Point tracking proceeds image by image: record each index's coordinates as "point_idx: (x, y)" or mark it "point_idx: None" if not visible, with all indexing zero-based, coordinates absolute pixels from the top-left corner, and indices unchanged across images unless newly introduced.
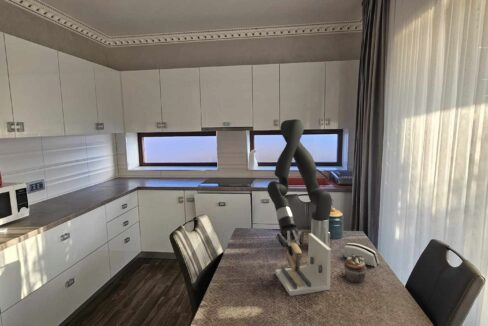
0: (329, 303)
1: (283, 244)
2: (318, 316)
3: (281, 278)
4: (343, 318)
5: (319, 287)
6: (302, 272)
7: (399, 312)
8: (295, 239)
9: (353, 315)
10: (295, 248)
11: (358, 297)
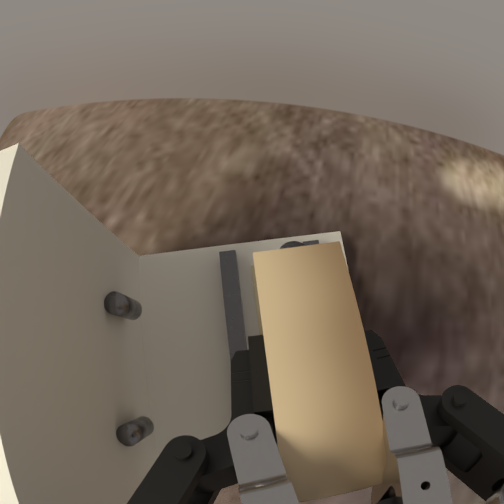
0: (182, 174)
1: (468, 399)
2: (255, 118)
3: None
4: (178, 107)
5: (180, 251)
6: (219, 408)
7: (28, 136)
8: (292, 485)
9: (140, 118)
10: (325, 324)
11: None
